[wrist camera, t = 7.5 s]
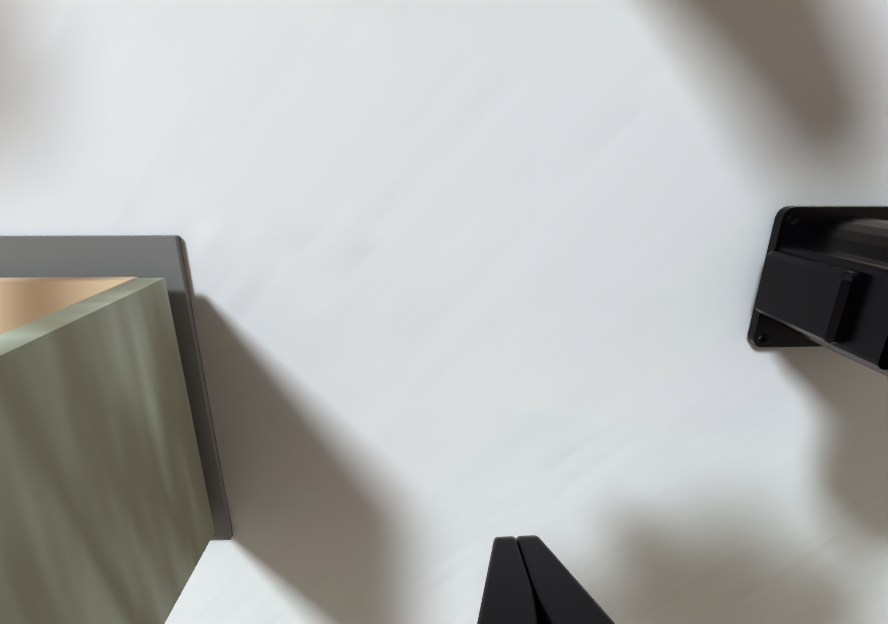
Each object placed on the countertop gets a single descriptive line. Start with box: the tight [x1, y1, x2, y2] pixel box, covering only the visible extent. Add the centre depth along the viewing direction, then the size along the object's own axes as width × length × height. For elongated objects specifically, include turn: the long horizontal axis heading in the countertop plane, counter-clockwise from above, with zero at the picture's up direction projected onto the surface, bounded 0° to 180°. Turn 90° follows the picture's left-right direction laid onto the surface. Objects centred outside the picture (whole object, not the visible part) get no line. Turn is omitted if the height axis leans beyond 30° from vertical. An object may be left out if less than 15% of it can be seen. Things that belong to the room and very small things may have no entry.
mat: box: [0, 236, 233, 540], centre depth 21 cm, size 14×16×1 cm
